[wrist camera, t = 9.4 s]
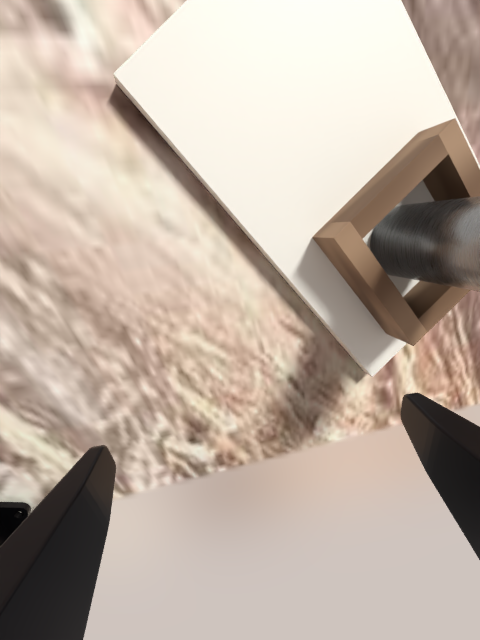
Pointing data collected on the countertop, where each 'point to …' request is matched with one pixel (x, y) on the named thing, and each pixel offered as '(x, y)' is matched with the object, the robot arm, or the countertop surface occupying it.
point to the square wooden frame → (375, 203)
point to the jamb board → (292, 126)
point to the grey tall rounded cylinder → (431, 242)
